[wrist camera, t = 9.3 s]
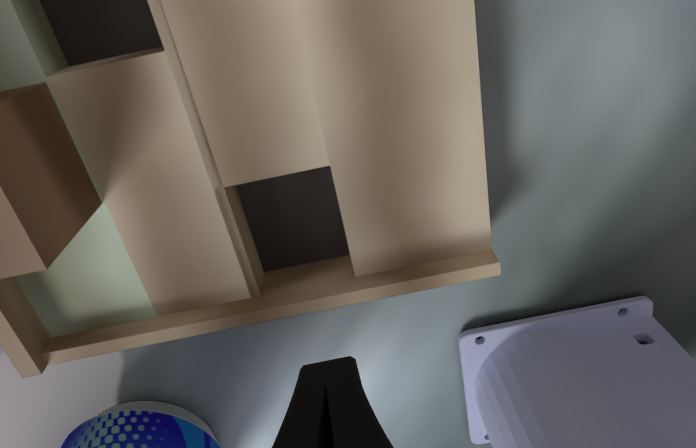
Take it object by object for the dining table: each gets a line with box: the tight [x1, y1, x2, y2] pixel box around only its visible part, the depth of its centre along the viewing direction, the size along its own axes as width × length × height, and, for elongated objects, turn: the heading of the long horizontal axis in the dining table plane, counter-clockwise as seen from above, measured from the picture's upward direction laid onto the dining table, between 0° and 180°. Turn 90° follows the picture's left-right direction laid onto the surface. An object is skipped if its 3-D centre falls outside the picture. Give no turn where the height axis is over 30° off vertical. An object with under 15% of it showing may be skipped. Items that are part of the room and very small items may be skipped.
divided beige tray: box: [0, 0, 501, 378], centre depth 18 cm, size 20×16×4 cm
